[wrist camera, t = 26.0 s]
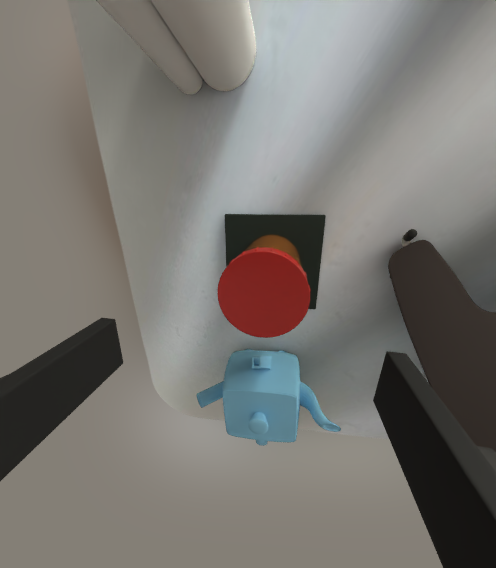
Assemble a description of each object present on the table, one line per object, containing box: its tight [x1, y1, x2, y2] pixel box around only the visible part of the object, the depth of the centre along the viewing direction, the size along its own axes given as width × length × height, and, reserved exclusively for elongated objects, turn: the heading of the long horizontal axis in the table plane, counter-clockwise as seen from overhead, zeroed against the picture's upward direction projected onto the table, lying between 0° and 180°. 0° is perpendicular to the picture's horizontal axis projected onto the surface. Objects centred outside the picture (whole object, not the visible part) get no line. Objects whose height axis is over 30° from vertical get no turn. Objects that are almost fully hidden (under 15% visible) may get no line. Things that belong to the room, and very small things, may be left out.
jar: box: [245, 235, 302, 267], centre depth 24 cm, size 7×7×11 cm
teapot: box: [197, 349, 341, 445], centre depth 31 cm, size 18×14×10 cm
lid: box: [218, 247, 311, 338], centre depth 20 cm, size 8×8×2 cm
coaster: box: [225, 214, 325, 309], centre depth 30 cm, size 12×12×1 cm
